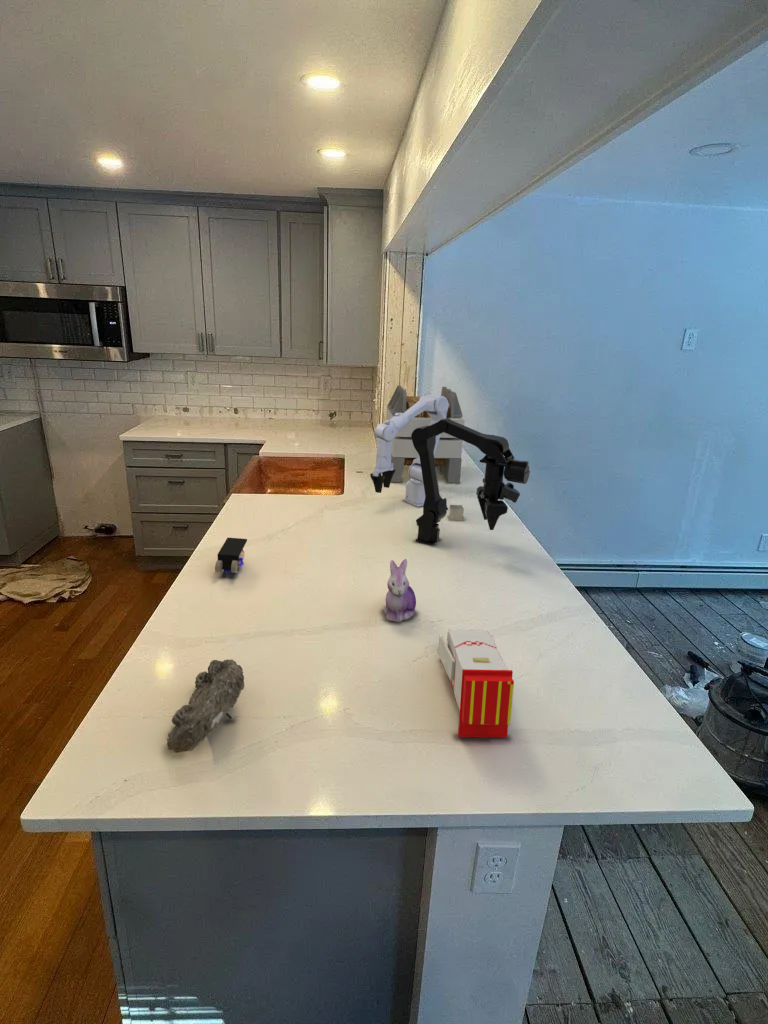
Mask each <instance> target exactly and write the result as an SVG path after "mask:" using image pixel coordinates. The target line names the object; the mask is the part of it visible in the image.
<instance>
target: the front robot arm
mask: <svg viewBox="0 0 768 1024" xmlns="http://www.w3.org/2000/svg"><path fill="white" fill-rule="evenodd" d="M443 432H444V433H447V434H449V435H451V436H454V437H456V438H458V439H460V440H462V441H463V442H465V443H468V444H470V445H472V446H474V447H476V448H477V449H478V450H479V451H480V452H481V453H483V454H484V456H483V458H481V459H480V460H479V463H483V464H485V470H484V477H483V478H482V483H483V486H482V485H479V486H478V487H477V488H476V493H475V494H476V498H477V501H478V504H479V508H480V511H481V514H482V517H483V520H485V521H487V525H488V530H489V531H493V530H494V529H495V527H496V525H497V524H498V523H497V522H498V521H499V518H500V517H501V516H503V515H505V514H508V509H509V506H508V505H507V504H506V502H505V501H504V500H505V499H506V500H508V501H511V502H512V503H514V504H516V503H517V502H518V499H519V497H520V495H521V493H520V491H518V490H517V489H516V488H515V485H514V484H513V483H517V484H523V485H526V484H527V483H528V482H529V481H528V480H529V478H530V474H531V471H530V466H529V460H519V459H515V456H514V453H512V451H511V449H510V444H509V442H508V441H509V440H508V439H507V438H505V437H503V436H500V435H495V434H486V433H483V432H481V431H478V430H476V429H473V428H471V427H468V426H465V424H464V425H461V424H459V423H457V422H454V421H452V420H451V419H449V418H445V419H442V420H440V421H438V422H437V423H435V424H432V425H430V426H429V425H426V426H423V427H419V428H416V429H415V430H414V431H413V432H412V434H411V438H412V442H413V445H414V448H415V449H416V451H417V452H418V454H419V457H420V464H421V470H422V477H423V484H424V490H425V501H424V505H423V506H422V514H421V516H419V517H418V518H416V520H415V524H416V526H417V538H416V539H415V542H417V543H421V544H425V545H430V546H435V544H436V543H437V542H438V541H439V540H440V532H441V528H439V526H440V524H439V522H441V520H442V519H444V518H445V517H446V516H447V513H448V511H449V507H448V505H447V503H448V502H447V500H448V499H447V498H446V497H444V498H443V497H442V495H441V494H440V490H439V483H438V476H437V466H435V460H434V448H435V444H436V436H437V435H439V434H441V433H443ZM504 480H506V481H507V483H506V484H505V482H504Z"/></svg>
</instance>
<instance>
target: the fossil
mask: <svg viewBox="0 0 768 1024" xmlns="http://www.w3.org/2000/svg"><path fill="white" fill-rule="evenodd" d="M243 670H244V669H243V667H242V665H240V664H237V662H236V661H235V660H234V659H232V658H231V659H227V658H226V659H224V660H223V661H222V660H217V659H212V660H211V661H210V663H209V665H208V666H207V671H201V672H199V673H198V674H197V675H196V676H195V680H194V684H195V685H194V687H195V689H194V690H193V693H192V694H191V697H190V698H189V700H188V704H184V705H182V706H181V707H180V709H177V710H176V711H175V713H174V715H173V716H172V718H171V723H172V724H173V727H172V730H171V731H170V732H168V734H167V738H166V741H167V742H166V745H167V749H168V750H169V751H173V752H174V753H176V754H178V753H182V752H188V751H189V752H192V751H193V750H195V748H196V747H197V746H199V744H200V743H201V742H203V741H204V740H205V739H206V738H207V737H208V736H209V735H210V734H211V733H212V732H214V730H215V729H217V727H218V726H219V724H220V722H221V721H222V720H223V719H224V718H225V716H226V717H227V719H229V720H233V717H232V715H230V714H229V710H230V709H231V708H234V706H235V704H236V703H237V702H238V699H239V697H240V695H241V693H242V691H243V690H245V689H244V688H245V675H244V671H243Z"/></svg>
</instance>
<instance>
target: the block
mask: <svg viewBox="0 0 768 1024" xmlns="http://www.w3.org/2000/svg"><path fill="white" fill-rule="evenodd" d="M448 511H449V512H448V517H449V520H450V521H462V522H463V521H464V512H465V508H464V507H463V504H449V510H448Z"/></svg>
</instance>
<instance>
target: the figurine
mask: <svg viewBox="0 0 768 1024" xmlns="http://www.w3.org/2000/svg"><path fill="white" fill-rule="evenodd" d="M407 567H408V559H406V558H404V559H403V560H402V561H401V563H400V565H399V566H398V565H397V563H396V562H395V561H394V560H393V559H391V560H390V561H389V570H390V576H389V578H388V579H387V589H388V591H387V592H386V594H385V595H386V596H385V607H384V615H385V616H386V620H387V621H391V622H395V623H400V622H402V621H406V620H409V619H410V618H411V617H413V616H414V615H415V610H416V606H417V597H416V593H415V591H414V590H413V587H411V586H410V582H409V579H408V577H407V574H406V571H407Z"/></svg>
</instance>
